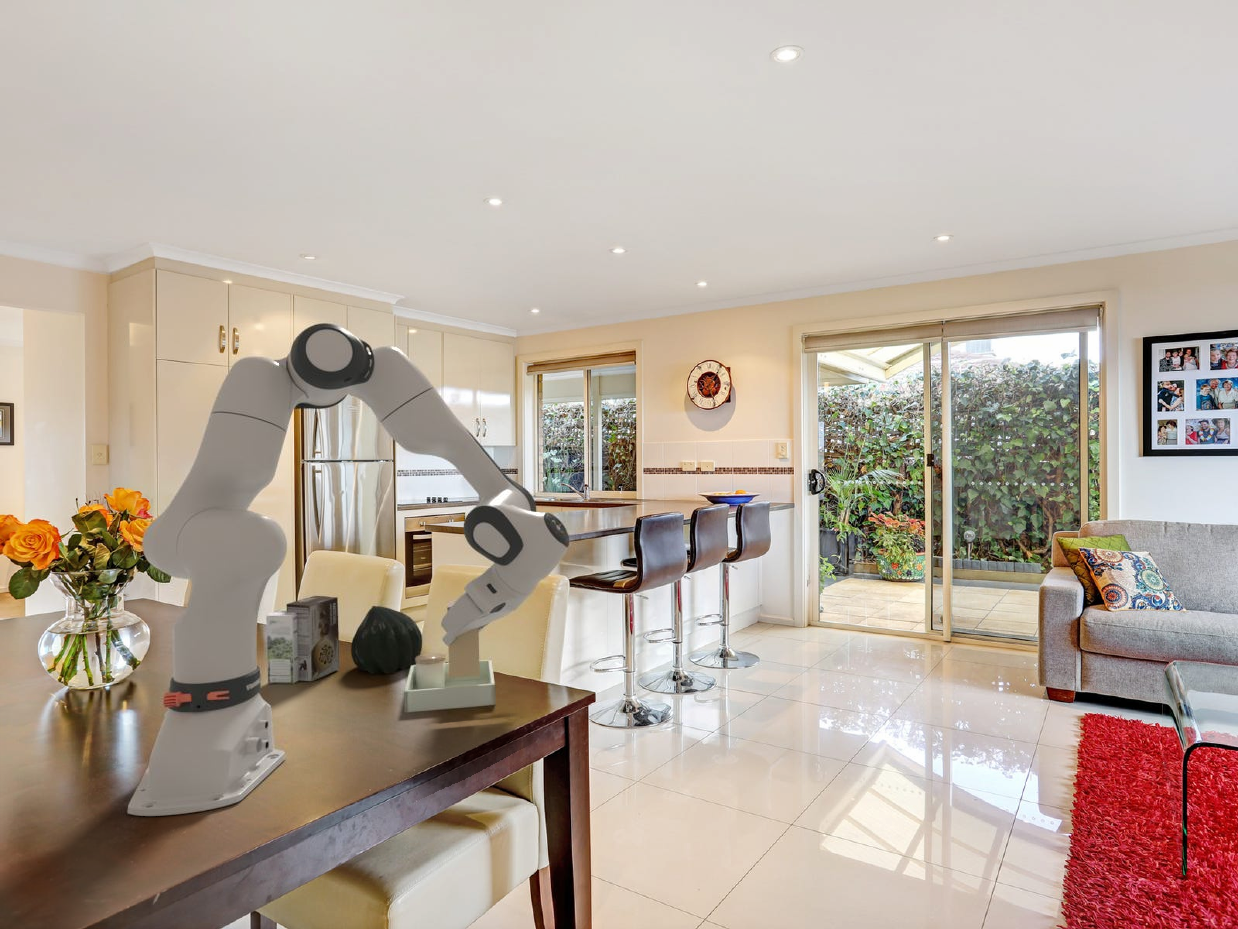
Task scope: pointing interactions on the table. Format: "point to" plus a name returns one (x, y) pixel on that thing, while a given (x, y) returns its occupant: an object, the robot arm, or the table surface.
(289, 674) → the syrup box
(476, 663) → the carton
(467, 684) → the tray
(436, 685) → the jar
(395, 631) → the squash
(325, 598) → the coffee box
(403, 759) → the table surface
